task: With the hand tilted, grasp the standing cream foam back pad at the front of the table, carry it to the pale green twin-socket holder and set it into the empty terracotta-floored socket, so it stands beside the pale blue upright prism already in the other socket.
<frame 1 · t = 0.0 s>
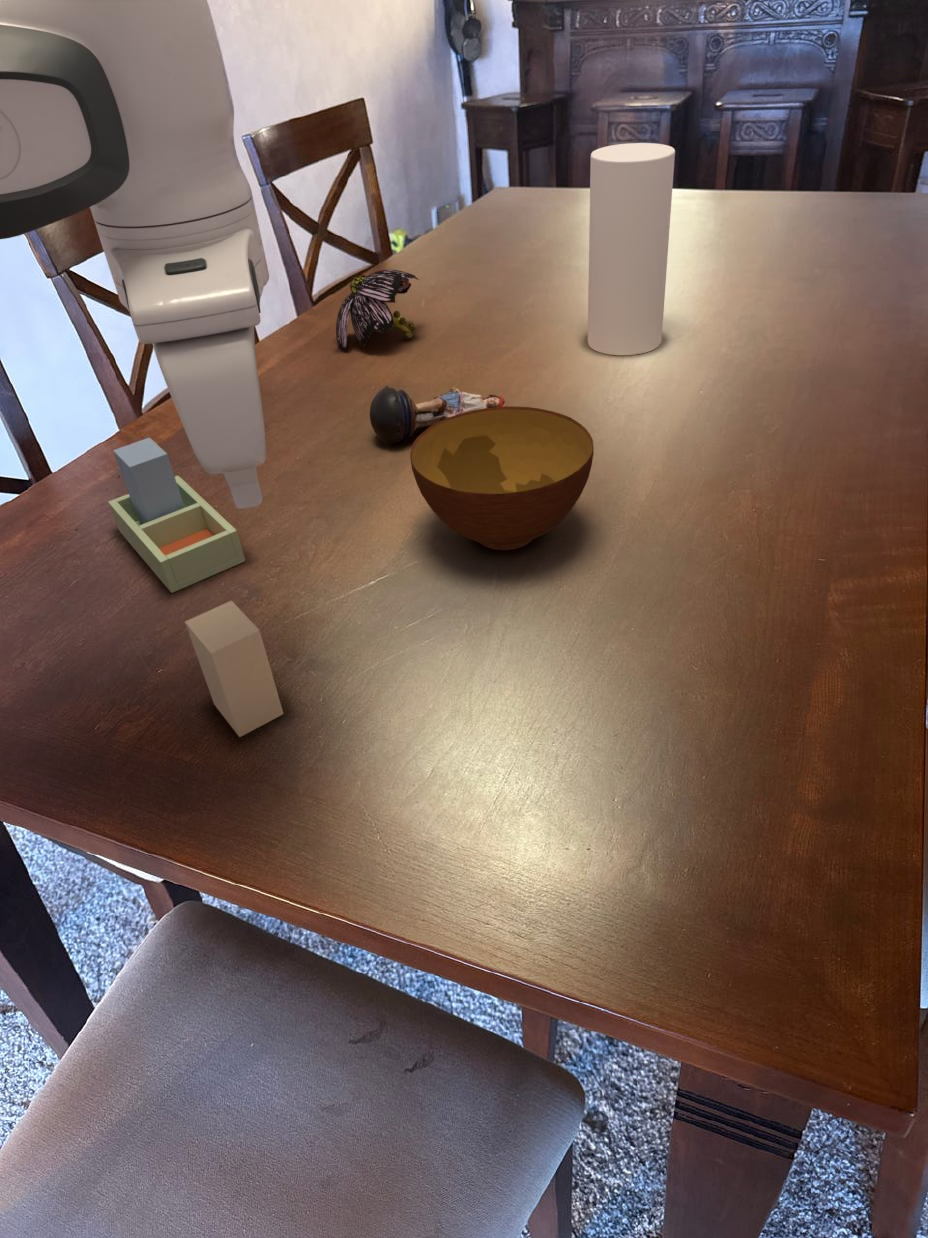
hand: (243, 468, 59), 22 cm above the table, tool pointing down, fingers open, 8 cm apart
bowl: (505, 535, 89), on the table
tall pillar cylinder: (624, 342, 127), on the table
decorative flower: (382, 341, 134), on the table
pale blue upright prism: (165, 525, 94), point 1 cm above the table, touching pad holder
pad holder: (180, 545, 92), on the table
cream pad: (248, 709, 72), on the table
figurine: (442, 429, 109), on the table
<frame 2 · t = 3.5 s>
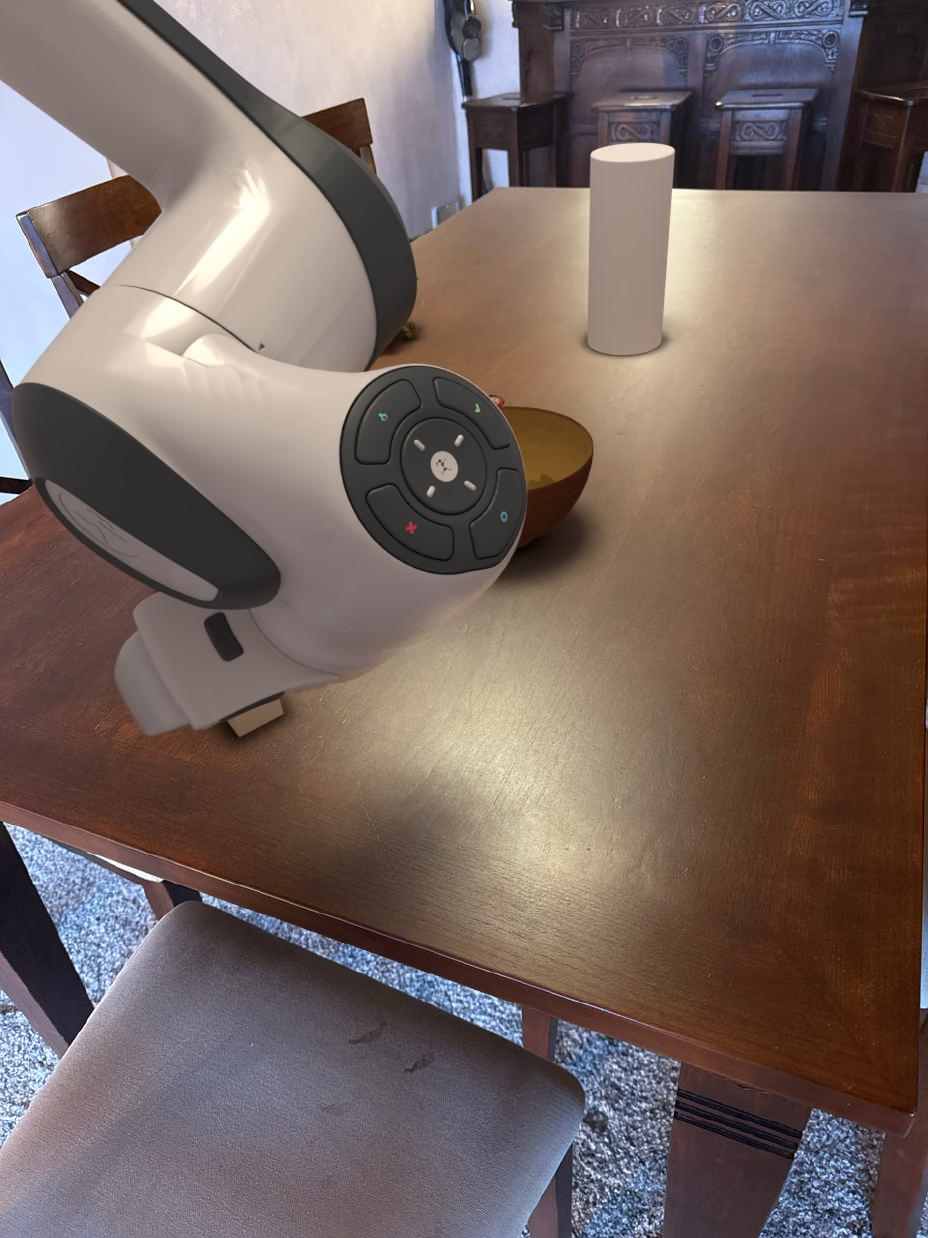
hand: (280, 644, 54), 15 cm above the table, tool tilted 45°, fingers open, 8 cm apart
nothing on the table moved.
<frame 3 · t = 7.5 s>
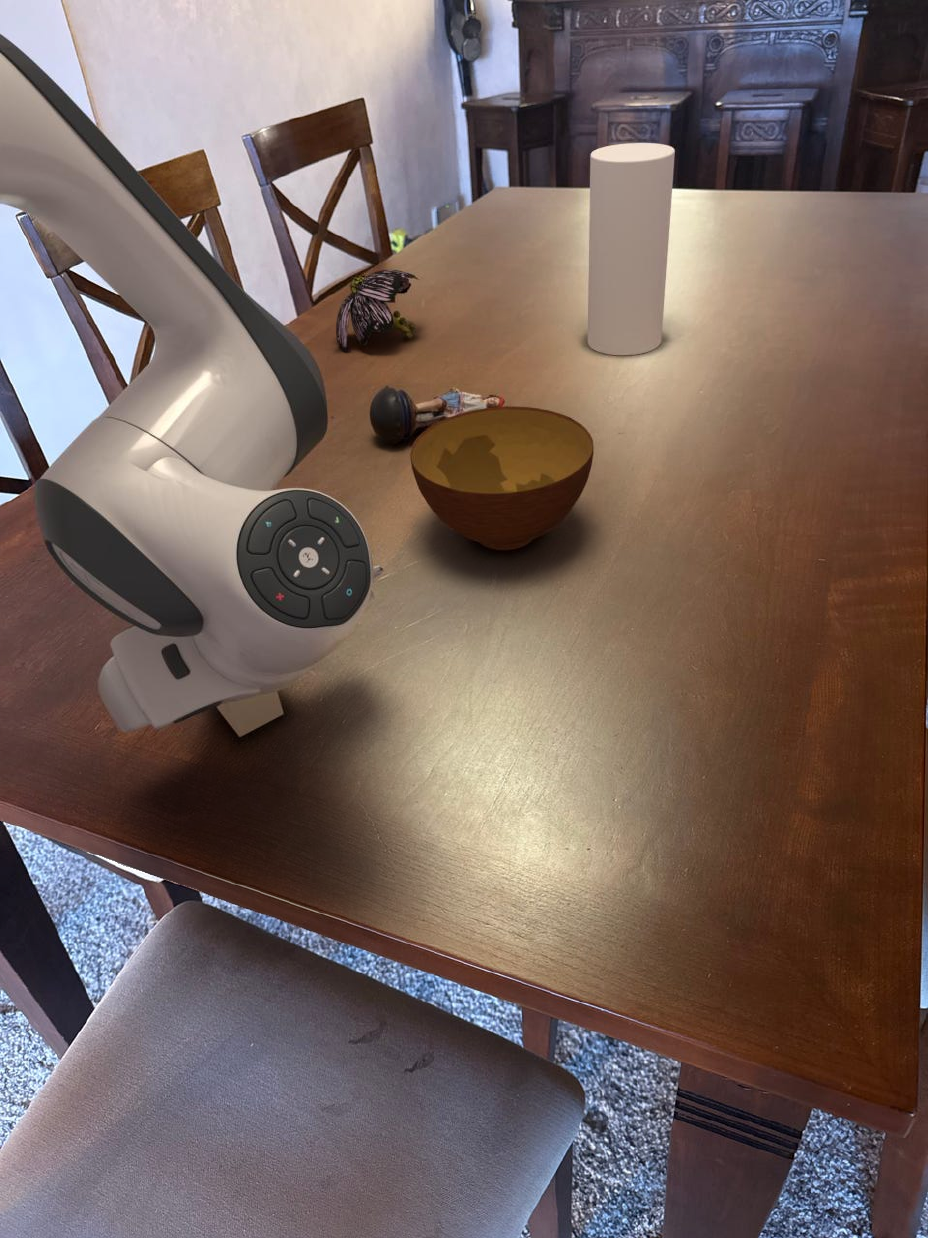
hand: (230, 661, 69), 5 cm above the table, tool tilted 45°, fingers closed on cream pad, 4 cm apart
cream pad: (248, 709, 72), on the table, touching gripper
everything else where it was.
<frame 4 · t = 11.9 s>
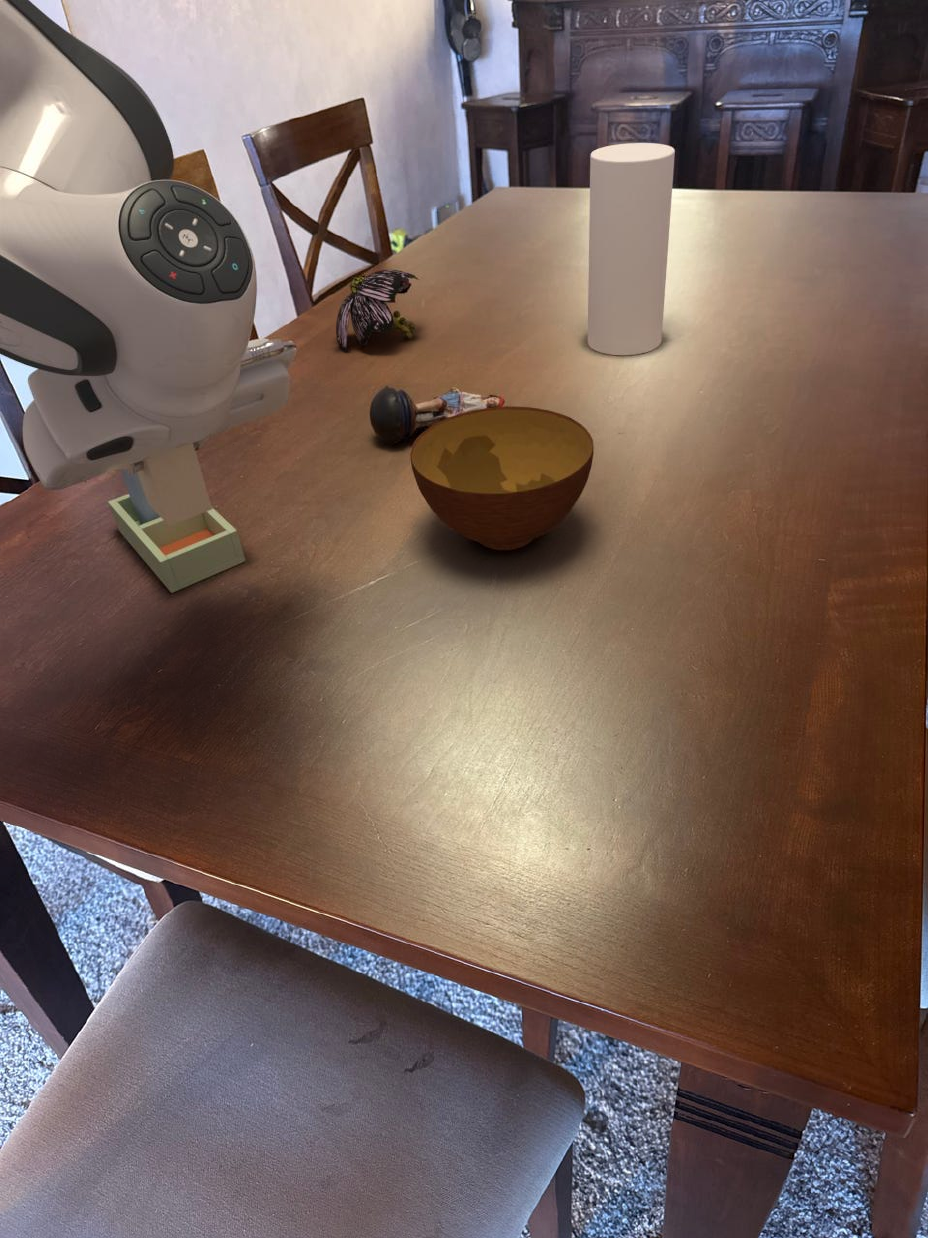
hand: (160, 454, 73), 16 cm above the table, tool tilted 45°, fingers closed on cream pad, 4 cm apart
cream pad: (180, 506, 76), point 12 cm above the table, touching gripper
everything else where it was.
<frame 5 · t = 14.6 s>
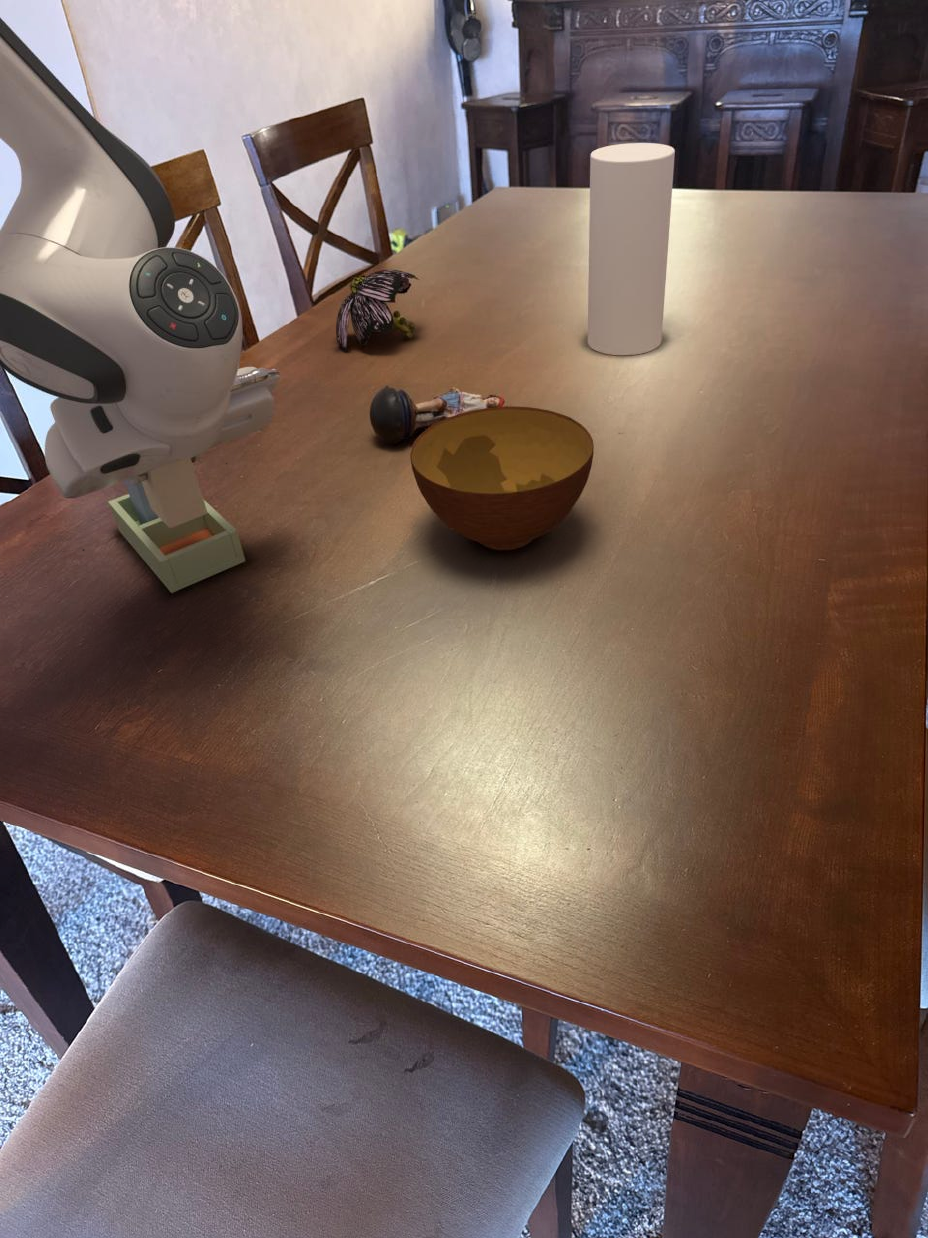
hand: (162, 465, 83), 11 cm above the table, tool tilted 45°, fingers closed on cream pad, 4 cm apart
cream pad: (179, 511, 86), point 6 cm above the table, touching gripper
everything else where it was.
when the fingers open (6 cm above the table, at t = 16.4 s): cream pad stays where it is, resting on pad holder.
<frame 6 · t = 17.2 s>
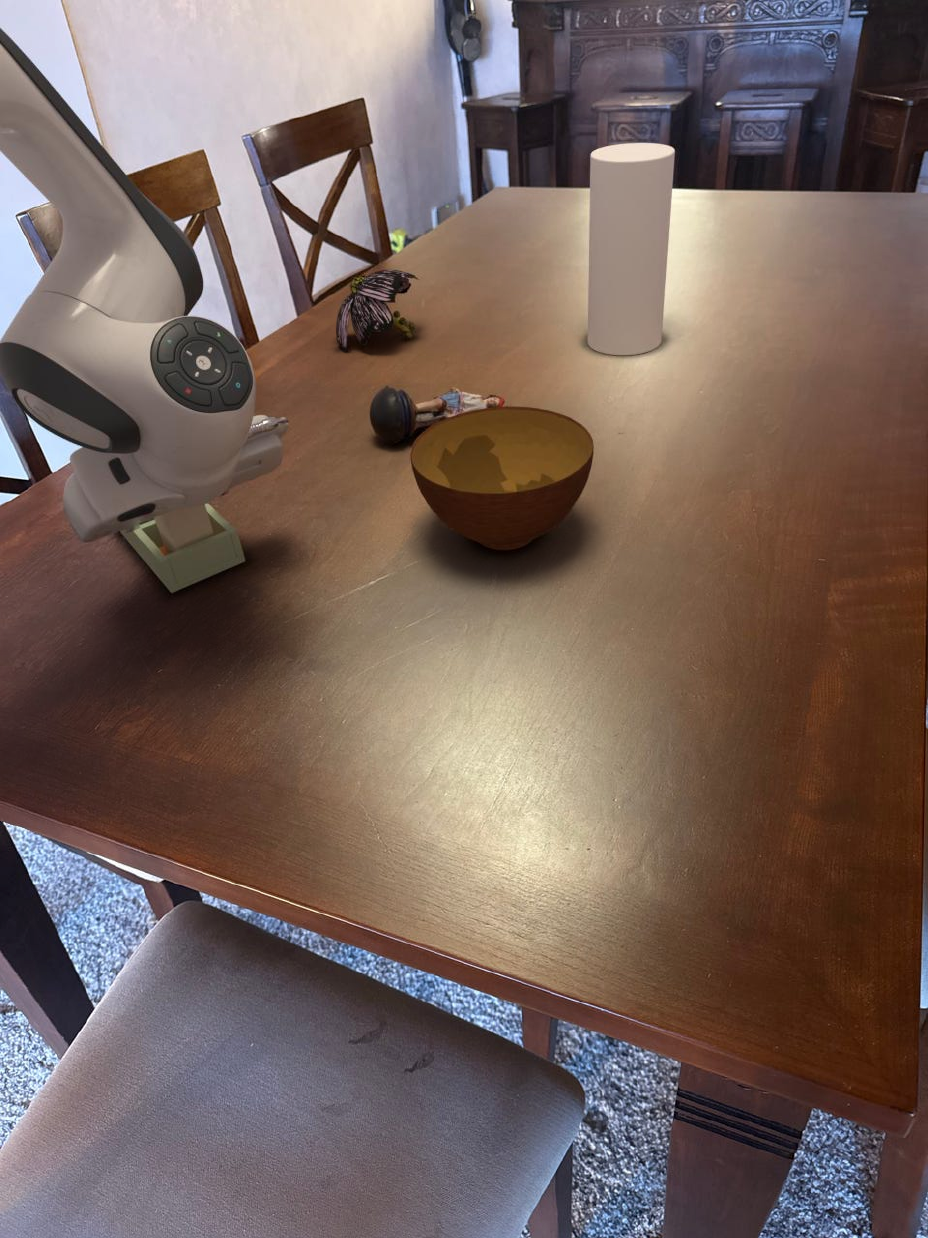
hand: (173, 506, 86), 6 cm above the table, tool tilted 45°, fingers open, 8 cm apart
cream pad: (192, 551, 89), point 1 cm above the table, touching pad holder
everything else where it was.
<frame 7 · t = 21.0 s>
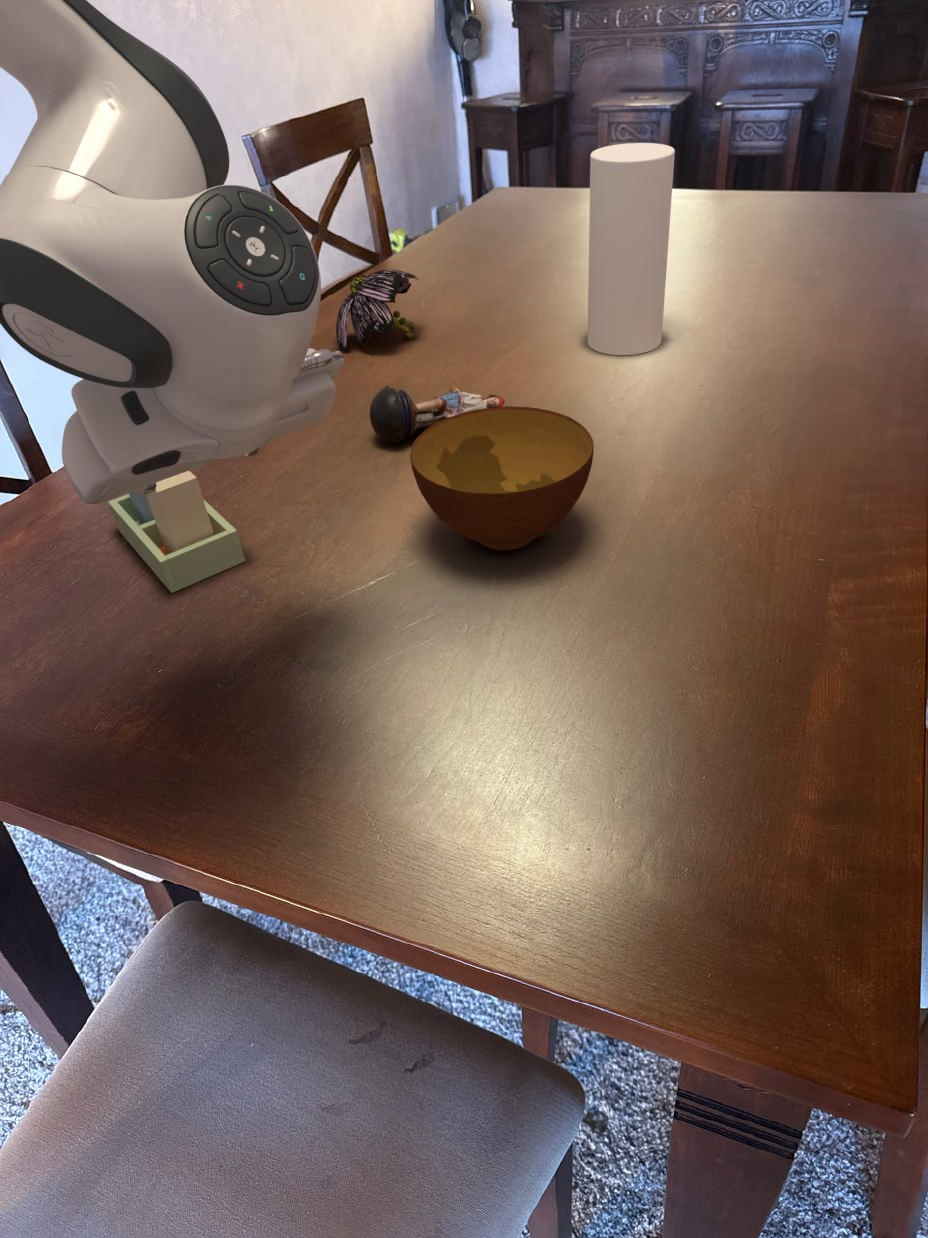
hand: (197, 465, 71), 17 cm above the table, tool tilted 45°, fingers open, 8 cm apart
nothing on the table moved.
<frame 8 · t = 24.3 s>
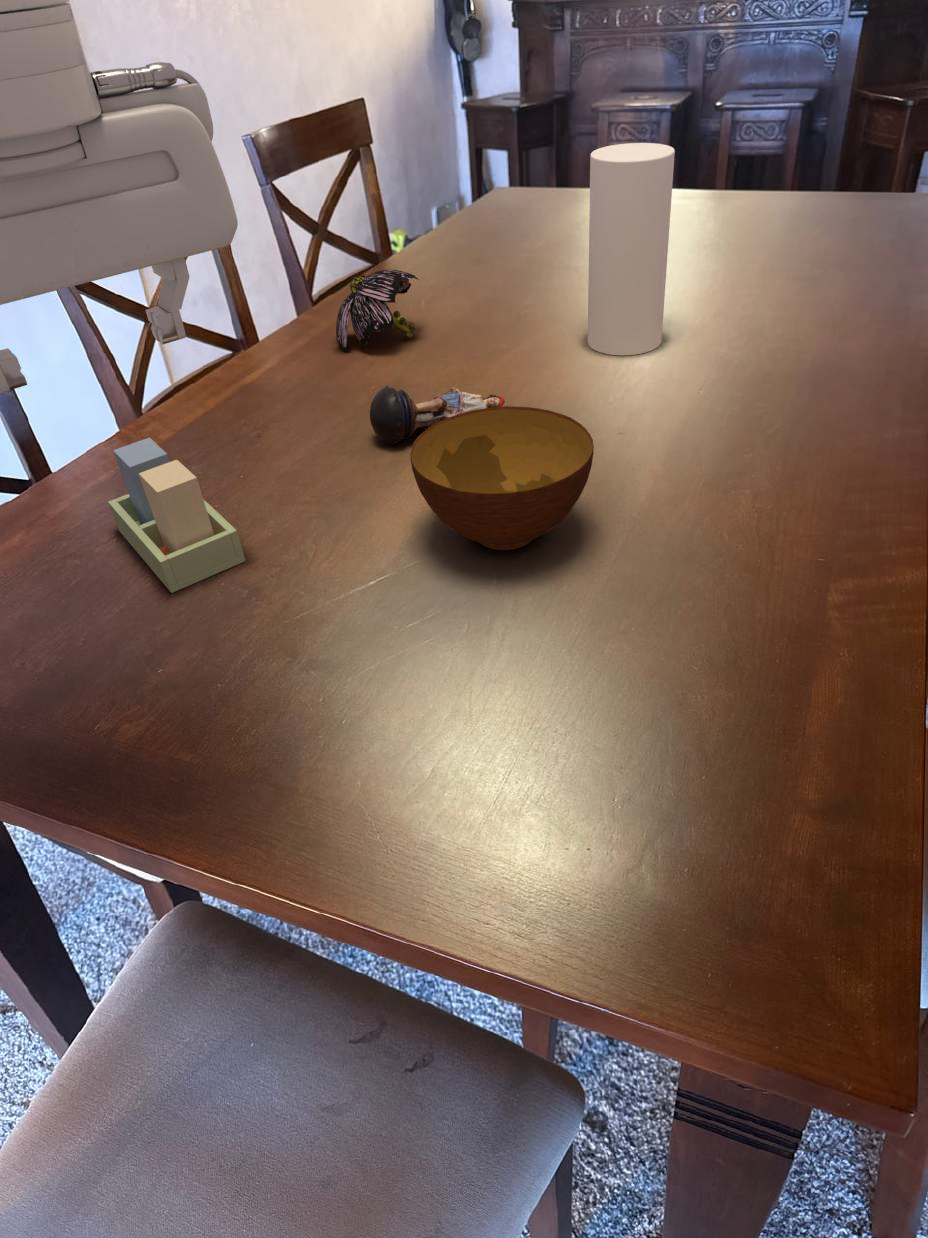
hand: (94, 361, 50), 31 cm above the table, tool pointing down, fingers open, 8 cm apart
nothing on the table moved.
at the end: cream pad 0.2 cm from the target spot in the pad holder, point 1.0 cm above the pad holder's base; cream pad tilted 0°; cream pad 7.3 cm from the pale blue upright prism (horizontally) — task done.
